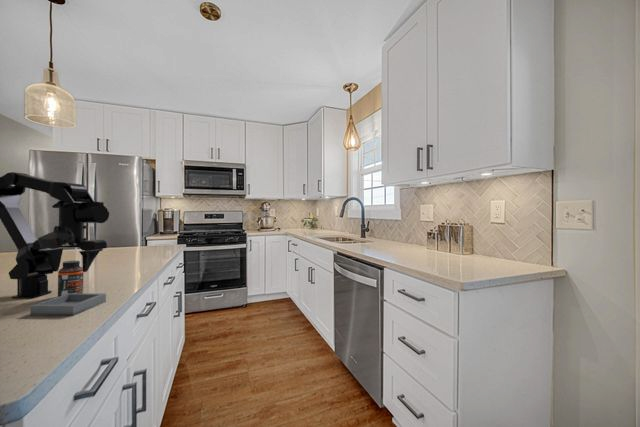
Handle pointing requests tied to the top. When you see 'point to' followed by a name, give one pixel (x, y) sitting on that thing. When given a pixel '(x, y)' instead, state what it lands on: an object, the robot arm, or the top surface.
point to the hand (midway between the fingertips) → (70, 271)
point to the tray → (68, 304)
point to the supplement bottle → (70, 278)
